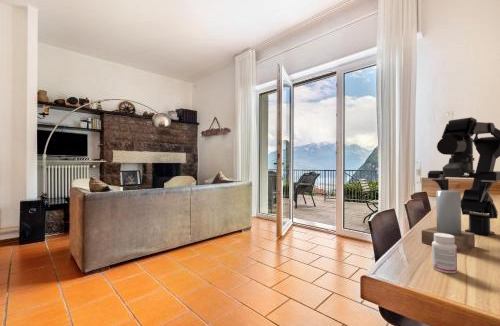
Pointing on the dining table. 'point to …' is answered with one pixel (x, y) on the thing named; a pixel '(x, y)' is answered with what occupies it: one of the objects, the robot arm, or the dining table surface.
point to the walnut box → (461, 241)
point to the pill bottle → (444, 253)
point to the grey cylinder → (448, 212)
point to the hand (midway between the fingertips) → (462, 200)
